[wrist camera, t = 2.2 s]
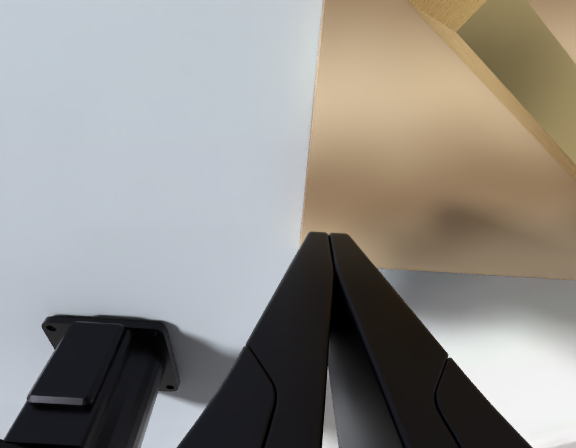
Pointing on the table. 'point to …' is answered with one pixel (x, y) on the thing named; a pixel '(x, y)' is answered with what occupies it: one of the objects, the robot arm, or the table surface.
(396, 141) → the oak board
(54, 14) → the table surface
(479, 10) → the olive tan bar
